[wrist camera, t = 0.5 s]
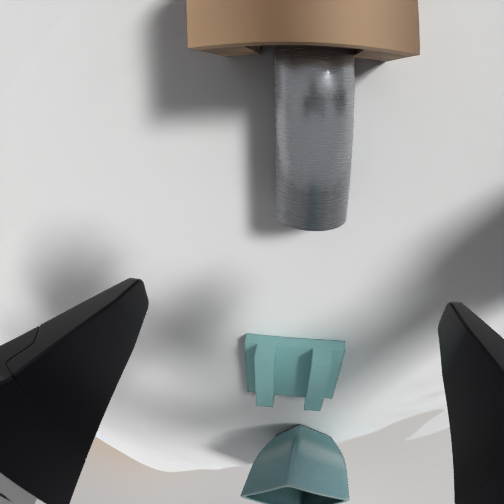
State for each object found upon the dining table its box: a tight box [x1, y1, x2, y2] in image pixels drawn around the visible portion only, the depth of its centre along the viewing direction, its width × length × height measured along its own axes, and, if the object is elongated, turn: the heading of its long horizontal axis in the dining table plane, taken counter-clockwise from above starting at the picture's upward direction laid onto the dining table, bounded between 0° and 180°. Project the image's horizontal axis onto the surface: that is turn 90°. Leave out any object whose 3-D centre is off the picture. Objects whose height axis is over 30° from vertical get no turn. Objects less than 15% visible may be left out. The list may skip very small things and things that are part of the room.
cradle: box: [245, 334, 345, 411], centre depth 26 cm, size 8×7×2 cm
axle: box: [274, 45, 355, 231], centre depth 14 cm, size 4×14×4 cm, turn 2°
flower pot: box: [241, 425, 349, 504], centre depth 30 cm, size 9×9×9 cm
